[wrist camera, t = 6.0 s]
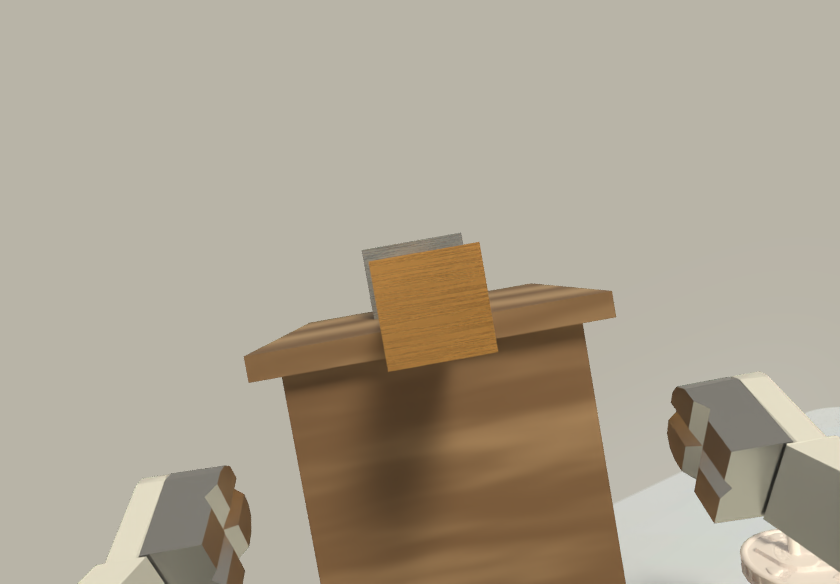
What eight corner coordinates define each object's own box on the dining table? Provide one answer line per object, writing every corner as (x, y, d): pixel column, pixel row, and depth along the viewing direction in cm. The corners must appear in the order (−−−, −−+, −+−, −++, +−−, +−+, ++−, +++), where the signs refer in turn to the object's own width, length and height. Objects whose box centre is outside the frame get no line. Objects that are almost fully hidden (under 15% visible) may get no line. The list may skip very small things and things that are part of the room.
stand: (718, 940, 22) (611, 290, 21) (367, 1009, 22) (243, 356, 21) (598, 682, 36) (531, 283, 35) (383, 722, 36) (309, 322, 35)
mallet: (557, 341, 12) (530, 180, 12) (328, 382, 12) (298, 221, 12) (461, 296, 34) (451, 239, 34) (380, 311, 34) (369, 254, 34)
